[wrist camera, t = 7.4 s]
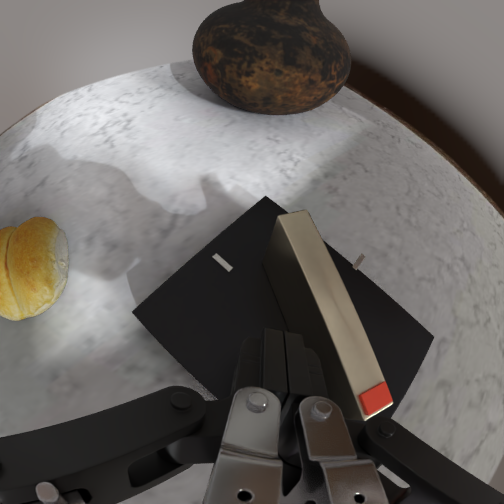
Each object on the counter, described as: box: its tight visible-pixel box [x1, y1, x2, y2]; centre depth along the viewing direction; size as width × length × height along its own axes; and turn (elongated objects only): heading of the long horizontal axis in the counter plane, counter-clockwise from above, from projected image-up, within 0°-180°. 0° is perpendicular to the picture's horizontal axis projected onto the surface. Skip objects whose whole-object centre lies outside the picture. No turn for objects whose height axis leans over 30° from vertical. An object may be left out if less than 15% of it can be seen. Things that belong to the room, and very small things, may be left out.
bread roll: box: [0, 217, 69, 321], centre depth 16 cm, size 8×9×4 cm
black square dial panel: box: [132, 196, 434, 424], centre depth 17 cm, size 16×14×3 cm
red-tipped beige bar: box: [262, 210, 393, 421], centre depth 14 cm, size 10×2×5 cm, turn 19°
